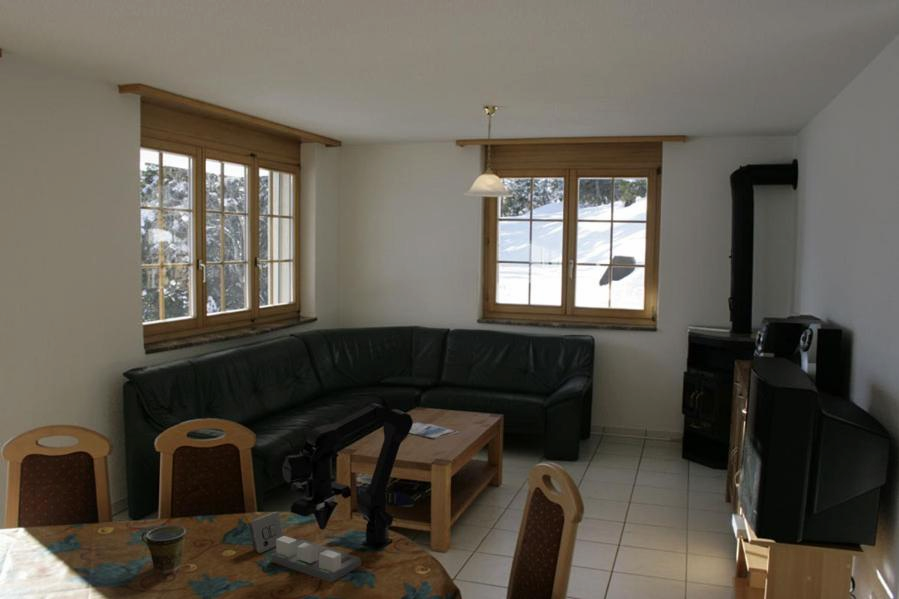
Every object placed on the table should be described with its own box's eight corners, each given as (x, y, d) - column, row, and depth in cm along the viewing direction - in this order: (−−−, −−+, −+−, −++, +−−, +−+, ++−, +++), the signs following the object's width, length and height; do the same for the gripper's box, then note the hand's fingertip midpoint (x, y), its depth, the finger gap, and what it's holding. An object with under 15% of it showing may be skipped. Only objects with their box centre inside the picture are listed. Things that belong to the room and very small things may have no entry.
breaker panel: (302, 546, 220) (301, 526, 219) (360, 565, 208) (360, 544, 207) (271, 561, 210) (270, 540, 209) (330, 582, 198) (330, 560, 197)
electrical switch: (259, 554, 214) (256, 522, 214) (247, 551, 218) (245, 519, 217) (285, 543, 222) (283, 512, 221) (274, 540, 225) (271, 509, 224)
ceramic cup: (194, 563, 208) (193, 528, 207) (170, 579, 199) (168, 542, 198) (155, 556, 213) (154, 521, 212) (129, 571, 203) (128, 535, 202)
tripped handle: (305, 554, 209) (304, 542, 208) (318, 559, 206) (318, 546, 205) (297, 558, 206) (296, 546, 206) (310, 563, 203) (310, 550, 203)
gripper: (322, 460, 222) (323, 512, 223) (275, 478, 206) (276, 534, 208) (351, 467, 216) (352, 520, 217) (305, 486, 200) (307, 543, 202)
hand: (322, 529), depth 211 cm, fingers closed
